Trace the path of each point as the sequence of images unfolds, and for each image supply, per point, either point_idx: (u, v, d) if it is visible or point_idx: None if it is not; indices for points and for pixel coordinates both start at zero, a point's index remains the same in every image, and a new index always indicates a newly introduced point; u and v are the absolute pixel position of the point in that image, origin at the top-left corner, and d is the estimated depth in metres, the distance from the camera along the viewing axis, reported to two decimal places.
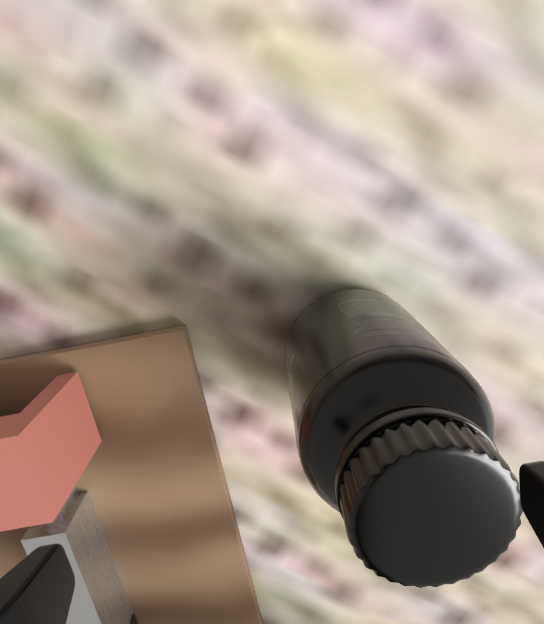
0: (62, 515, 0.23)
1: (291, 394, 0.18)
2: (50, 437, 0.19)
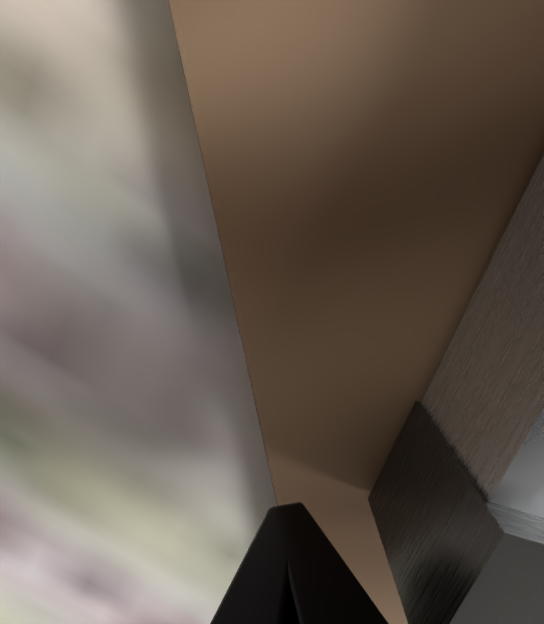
0: None
1: None
2: None
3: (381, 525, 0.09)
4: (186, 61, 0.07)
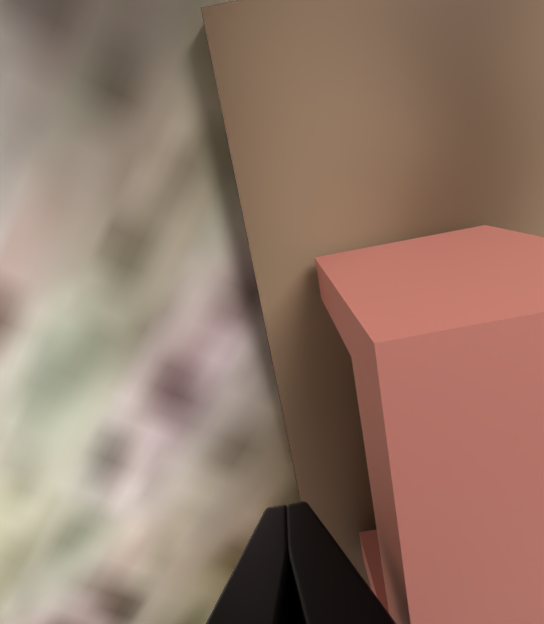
0: None
1: None
2: (427, 286, 0.07)
3: None
4: None
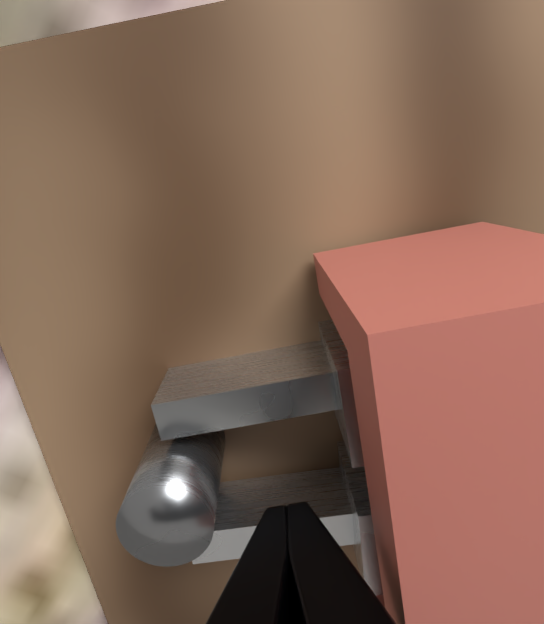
0: (320, 374, 0.10)
1: None
2: (422, 280, 0.07)
3: None
4: None
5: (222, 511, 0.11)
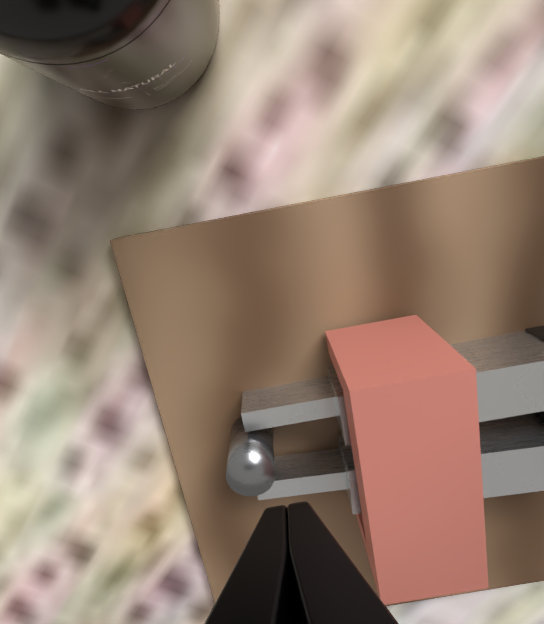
0: (329, 397, 0.19)
1: (90, 87, 0.13)
2: (374, 361, 0.16)
3: None
4: None
5: None
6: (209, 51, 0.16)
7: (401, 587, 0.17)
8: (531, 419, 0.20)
